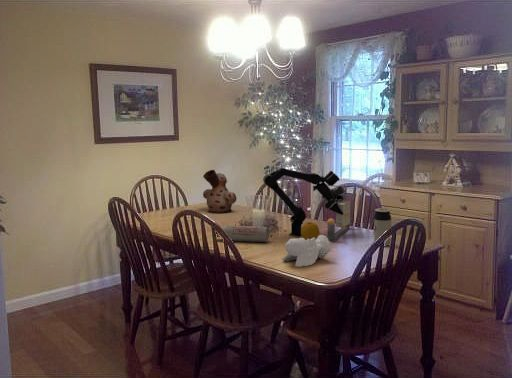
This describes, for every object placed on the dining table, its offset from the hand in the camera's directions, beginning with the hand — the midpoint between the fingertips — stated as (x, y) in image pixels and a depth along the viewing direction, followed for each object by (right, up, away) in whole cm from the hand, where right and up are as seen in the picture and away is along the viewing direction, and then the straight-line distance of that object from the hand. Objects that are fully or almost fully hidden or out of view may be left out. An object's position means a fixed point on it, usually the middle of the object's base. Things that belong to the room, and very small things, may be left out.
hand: (345, 212), depth 264 cm
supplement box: (-1, -7, +2) cm, 8 cm away
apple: (-21, -15, -15) cm, 30 cm away
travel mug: (+15, -15, -20) cm, 29 cm away
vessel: (-75, -3, +76) cm, 107 cm away
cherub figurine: (-26, -20, -45) cm, 55 cm away
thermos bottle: (-42, -11, -10) cm, 45 cm away
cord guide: (-3, -12, +3) cm, 13 cm away
